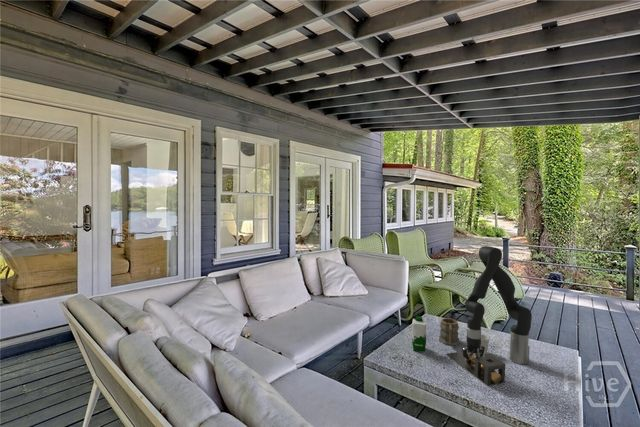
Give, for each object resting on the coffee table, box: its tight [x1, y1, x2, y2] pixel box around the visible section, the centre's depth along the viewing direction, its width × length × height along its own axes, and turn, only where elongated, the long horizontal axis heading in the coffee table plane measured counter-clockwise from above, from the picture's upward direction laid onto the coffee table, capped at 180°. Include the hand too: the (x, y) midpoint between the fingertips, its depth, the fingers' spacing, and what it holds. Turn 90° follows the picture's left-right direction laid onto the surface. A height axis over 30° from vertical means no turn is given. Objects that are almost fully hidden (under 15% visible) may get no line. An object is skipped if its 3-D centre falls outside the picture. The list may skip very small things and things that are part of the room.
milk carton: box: [411, 315, 427, 353], centre depth 207 cm, size 9×9×20 cm
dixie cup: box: [481, 333, 490, 356], centre depth 203 cm, size 8×8×10 cm
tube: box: [465, 355, 501, 383], centre depth 178 cm, size 22×5×5 cm, turn 14°
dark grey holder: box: [445, 351, 507, 387], centre depth 184 cm, size 34×12×10 cm, turn 15°
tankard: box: [438, 317, 460, 346], centre depth 215 cm, size 20×13×15 cm, turn 159°
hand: (472, 364), depth 185 cm, fingers closed on tube, 5 cm apart
